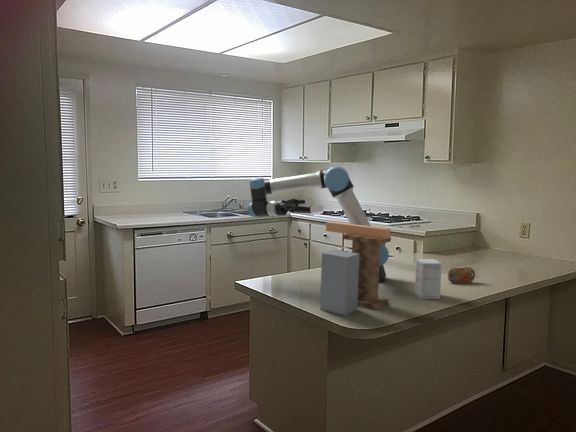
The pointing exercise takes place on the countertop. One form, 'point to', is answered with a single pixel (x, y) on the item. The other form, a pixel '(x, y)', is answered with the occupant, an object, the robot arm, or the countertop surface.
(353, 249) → the stand
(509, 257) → the countertop surface
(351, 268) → the slate block
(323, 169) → the robot arm
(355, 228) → the rod
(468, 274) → the tin
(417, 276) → the supplement box
